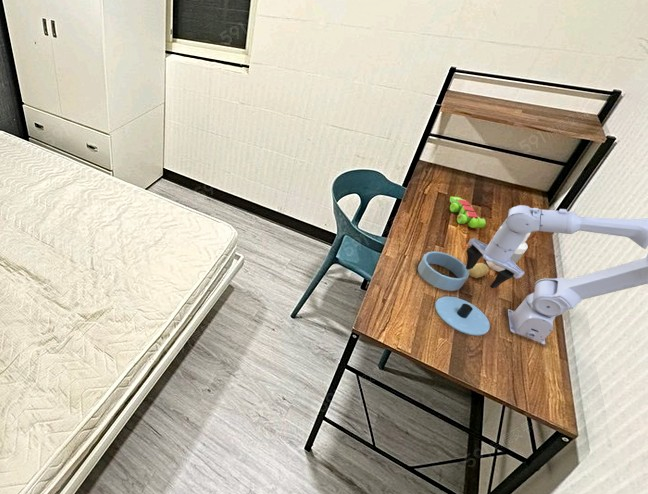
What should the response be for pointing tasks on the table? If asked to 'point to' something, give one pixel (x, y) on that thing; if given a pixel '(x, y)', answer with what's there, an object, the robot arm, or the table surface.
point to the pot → (439, 279)
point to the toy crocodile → (466, 213)
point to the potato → (478, 270)
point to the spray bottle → (514, 257)
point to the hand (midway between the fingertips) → (480, 277)
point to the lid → (462, 316)
